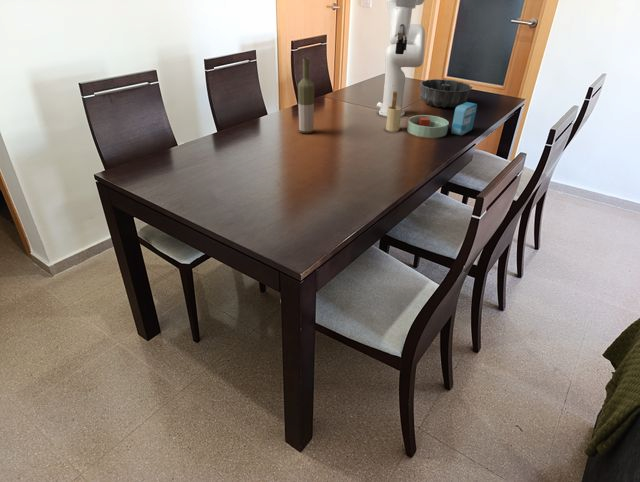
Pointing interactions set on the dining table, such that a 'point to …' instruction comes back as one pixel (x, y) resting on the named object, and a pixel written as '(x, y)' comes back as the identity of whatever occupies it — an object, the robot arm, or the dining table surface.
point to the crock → (393, 118)
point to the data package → (464, 118)
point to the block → (424, 121)
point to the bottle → (306, 100)
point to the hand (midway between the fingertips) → (400, 52)
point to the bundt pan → (444, 92)
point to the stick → (394, 100)
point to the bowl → (430, 132)
